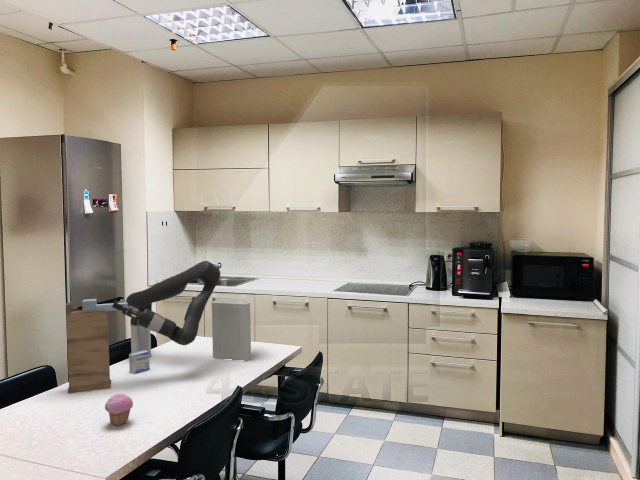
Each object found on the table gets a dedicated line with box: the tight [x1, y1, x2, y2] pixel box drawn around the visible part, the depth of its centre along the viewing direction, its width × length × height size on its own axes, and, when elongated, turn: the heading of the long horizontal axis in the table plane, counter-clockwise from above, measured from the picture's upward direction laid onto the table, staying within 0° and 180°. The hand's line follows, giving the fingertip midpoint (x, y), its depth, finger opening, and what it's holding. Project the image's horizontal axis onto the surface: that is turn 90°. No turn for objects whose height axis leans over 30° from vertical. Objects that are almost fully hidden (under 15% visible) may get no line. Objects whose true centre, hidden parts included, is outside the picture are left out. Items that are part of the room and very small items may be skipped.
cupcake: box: [104, 393, 134, 427], centre depth 172 cm, size 9×9×10 cm
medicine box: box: [128, 350, 151, 375], centre depth 229 cm, size 8×4×9 cm, turn 143°
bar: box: [81, 298, 128, 312], centre depth 207 cm, size 5×17×5 cm, turn 110°
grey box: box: [211, 297, 252, 362], centre depth 250 cm, size 19×15×28 cm
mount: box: [65, 301, 112, 395], centre depth 206 cm, size 7×16×36 cm, turn 110°
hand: (113, 303), depth 209 cm, fingers open, 4 cm apart
